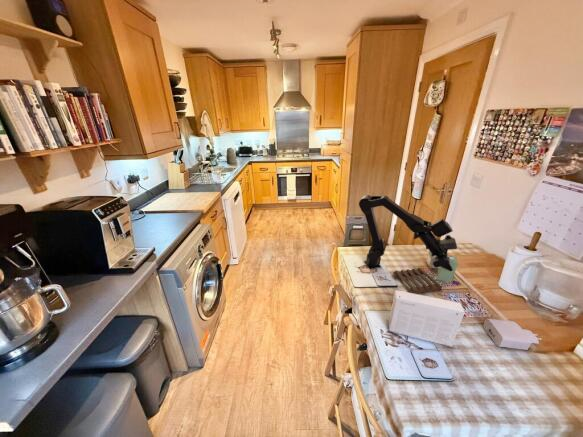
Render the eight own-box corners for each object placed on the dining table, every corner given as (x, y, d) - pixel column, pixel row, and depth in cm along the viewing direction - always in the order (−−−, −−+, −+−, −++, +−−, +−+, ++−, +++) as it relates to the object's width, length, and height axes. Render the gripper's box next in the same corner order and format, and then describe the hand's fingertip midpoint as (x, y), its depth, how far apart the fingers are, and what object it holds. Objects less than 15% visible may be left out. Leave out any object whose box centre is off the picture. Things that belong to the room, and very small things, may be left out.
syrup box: (440, 268, 122) (448, 245, 116) (428, 267, 123) (435, 244, 117) (437, 262, 127) (444, 239, 121) (425, 261, 128) (431, 238, 122)
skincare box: (448, 334, 85) (461, 302, 79) (452, 347, 81) (466, 314, 74) (387, 320, 92) (395, 288, 85) (388, 331, 87) (395, 299, 80)
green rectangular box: (437, 279, 109) (444, 258, 104) (437, 272, 113) (443, 252, 109) (451, 282, 107) (458, 262, 102) (450, 276, 111) (457, 255, 106)
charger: (547, 353, 78) (498, 347, 80) (526, 330, 87) (482, 325, 89) (553, 344, 76) (503, 338, 79) (531, 321, 85) (486, 317, 87)
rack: (410, 295, 104) (411, 290, 103) (392, 276, 116) (393, 271, 115) (441, 290, 107) (442, 285, 105) (420, 272, 119) (421, 267, 118)
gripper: (449, 242, 95) (473, 272, 94) (446, 224, 110) (467, 250, 109) (423, 253, 101) (445, 281, 101) (423, 235, 116) (443, 259, 116)
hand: (451, 267), depth 107 cm, fingers closed on green rectangular box, 5 cm apart
